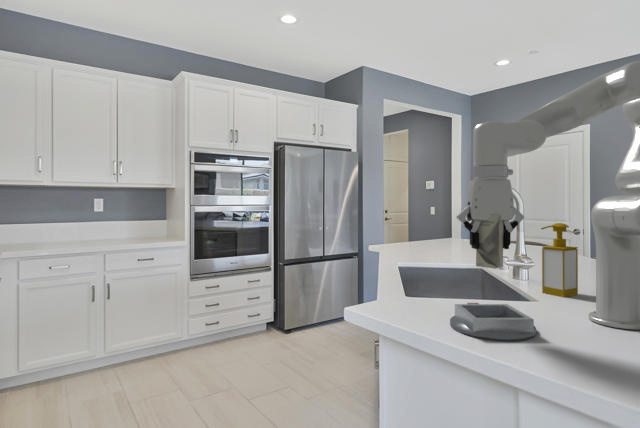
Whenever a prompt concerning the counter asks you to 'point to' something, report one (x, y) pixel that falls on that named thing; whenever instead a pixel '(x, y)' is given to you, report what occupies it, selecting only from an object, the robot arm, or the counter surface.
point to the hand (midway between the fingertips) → (489, 247)
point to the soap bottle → (559, 266)
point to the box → (490, 243)
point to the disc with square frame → (492, 322)
